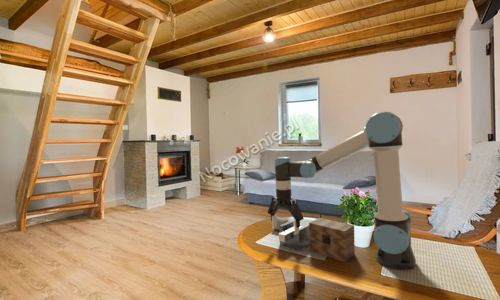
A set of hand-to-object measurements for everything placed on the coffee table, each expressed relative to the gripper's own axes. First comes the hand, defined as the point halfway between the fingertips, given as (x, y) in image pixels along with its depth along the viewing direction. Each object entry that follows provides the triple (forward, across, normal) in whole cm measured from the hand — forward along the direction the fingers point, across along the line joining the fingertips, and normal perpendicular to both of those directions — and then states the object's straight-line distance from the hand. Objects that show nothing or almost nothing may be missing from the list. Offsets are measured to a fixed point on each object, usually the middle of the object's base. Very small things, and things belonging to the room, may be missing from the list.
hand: (285, 230), depth 128 cm
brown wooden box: (+10, -18, -11) cm, 24 cm away
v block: (+10, 0, -8) cm, 13 cm away
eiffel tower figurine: (+10, -2, -32) cm, 33 cm away
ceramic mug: (+10, +19, -21) cm, 30 cm away
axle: (+5, 0, -5) cm, 7 cm away
